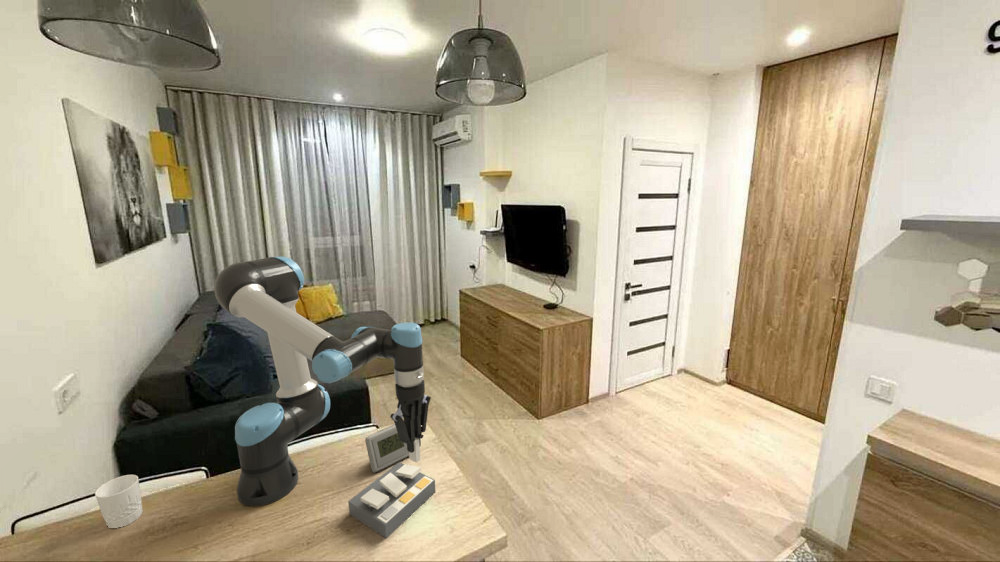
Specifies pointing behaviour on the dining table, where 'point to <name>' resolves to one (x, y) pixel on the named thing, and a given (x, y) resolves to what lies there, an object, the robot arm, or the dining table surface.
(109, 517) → the white cup
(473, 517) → the dining table surface
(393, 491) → the switch
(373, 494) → the switch
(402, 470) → the switch
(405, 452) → the digital clock
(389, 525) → the panel
